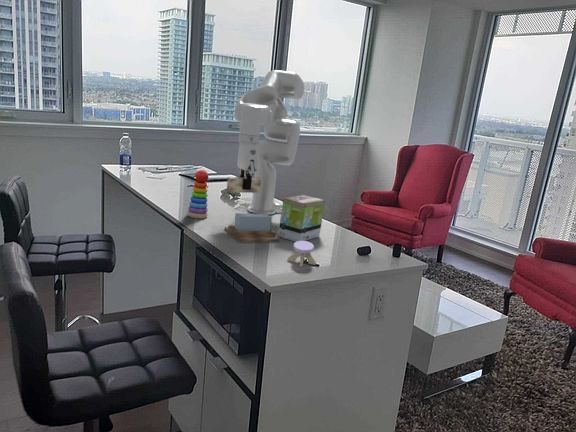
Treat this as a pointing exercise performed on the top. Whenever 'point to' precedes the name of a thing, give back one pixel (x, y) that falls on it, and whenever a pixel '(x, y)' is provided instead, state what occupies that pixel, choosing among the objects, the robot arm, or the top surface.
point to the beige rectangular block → (237, 183)
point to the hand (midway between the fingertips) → (244, 187)
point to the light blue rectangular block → (252, 222)
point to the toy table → (302, 252)
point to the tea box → (301, 218)
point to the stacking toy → (199, 196)
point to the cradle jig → (252, 235)
